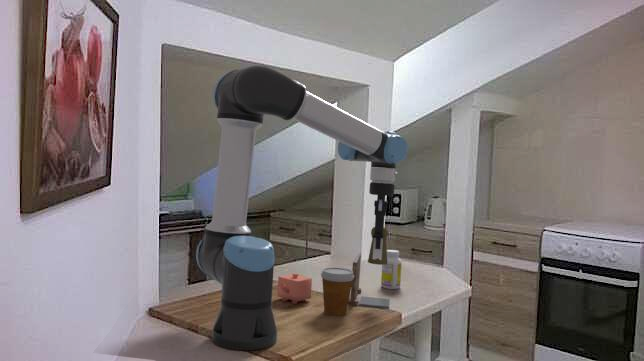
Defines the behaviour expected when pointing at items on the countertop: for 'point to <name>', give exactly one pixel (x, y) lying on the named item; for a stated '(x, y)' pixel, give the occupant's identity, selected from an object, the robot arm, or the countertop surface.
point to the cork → (384, 249)
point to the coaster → (374, 302)
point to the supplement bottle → (391, 271)
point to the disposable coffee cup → (336, 290)
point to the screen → (355, 280)
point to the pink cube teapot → (294, 287)
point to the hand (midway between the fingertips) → (377, 257)
